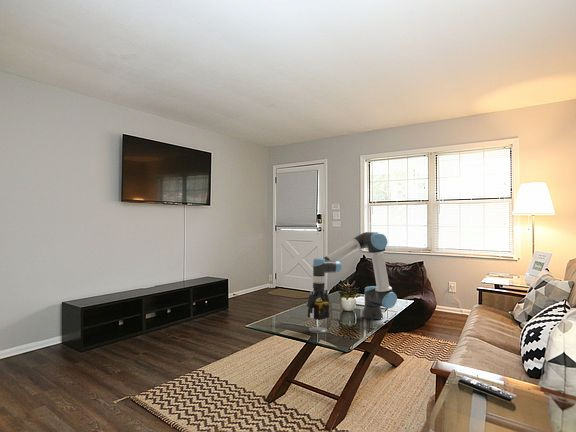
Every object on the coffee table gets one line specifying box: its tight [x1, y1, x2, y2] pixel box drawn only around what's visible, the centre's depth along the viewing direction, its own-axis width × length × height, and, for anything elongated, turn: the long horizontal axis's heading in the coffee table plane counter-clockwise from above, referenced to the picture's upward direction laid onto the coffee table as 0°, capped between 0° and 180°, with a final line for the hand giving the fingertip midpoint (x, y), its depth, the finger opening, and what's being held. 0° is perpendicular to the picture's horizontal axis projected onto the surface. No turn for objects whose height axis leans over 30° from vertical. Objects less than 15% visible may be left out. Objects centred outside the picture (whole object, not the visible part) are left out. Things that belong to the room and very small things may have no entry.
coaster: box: [308, 326, 329, 334], centre depth 220 cm, size 12×12×1 cm
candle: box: [307, 299, 330, 321], centre depth 220 cm, size 10×10×10 cm
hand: (318, 316), depth 220 cm, fingers closed on candle, 10 cm apart
